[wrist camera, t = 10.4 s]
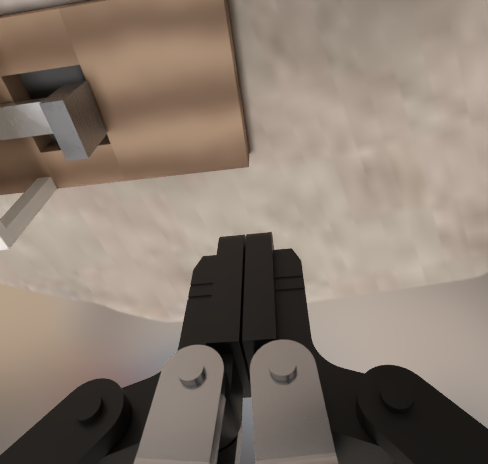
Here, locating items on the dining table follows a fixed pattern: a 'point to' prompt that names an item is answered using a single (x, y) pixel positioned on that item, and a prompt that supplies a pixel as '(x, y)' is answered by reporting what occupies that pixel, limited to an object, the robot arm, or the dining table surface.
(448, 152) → the dining table surface
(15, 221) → the white small table
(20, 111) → the sled
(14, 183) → the deck
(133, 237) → the dining table surface
